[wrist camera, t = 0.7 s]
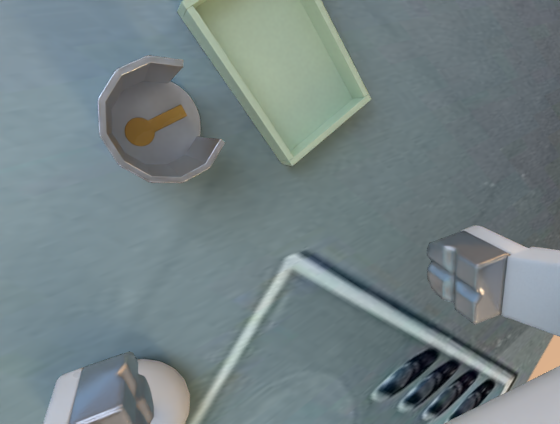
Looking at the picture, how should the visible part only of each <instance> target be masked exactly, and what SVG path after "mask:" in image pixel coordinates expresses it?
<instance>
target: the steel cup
mask: <svg viewBox="0 0 560 424" xmlns="http://www.w3.org/2000/svg"><path fill="white" fill-rule="evenodd" d="M182 67H183V60H180V59H173V58H165V57H158V56H151V55H149V56H145V57H143V58H140V59H138V60H136V61H134V62H131V63H129V64H127V65H125V66H122V67H120V68H118V69H117V70H115V72H114V73H113V75H112V77H111V78H110V80H109V81H108V83H107V85H106V86H105V88H104V90H103V91H102V93H101V95H100V96H99V98H98V122H99V135H100V138H101V139H102V141H103V142H104V144H105V145H106V147H107V148H108V150H109V151H110V153H111V154H112V156H113V157H114V159H115V161H116V162H117V164H118V165H120V167H122V168H124V169H126V170H128V171H129V172H131V173H133V174H135V175H137V176H139V177H140V178H142V179H144V180H146V181H148V182H151V183H182V182H185V181H187V180H189V179H191V178H193V177H195V176H196V175H198V174H200V173H202V172H204V171H205V170H207V169H209V167H211V165H212V164H213V162H214V160H215V159H216V157H217V155H218V154H219V152H220V150H221V149H222V147H223V145H224V144H225V142H224V141H223V140H221V139H214V138H205V137H200V131H201V121H200V116H199V112H198V109H197V107H196V105H195V103H194V102H193V100H192V98H191V97H190V96H189V95H188V94H187V93H186V92H185V91H184V90H183V89H182V88H181V87H180V86H178V85H177V84H175V83H173V82H171V81H170V80H171V79H172V78H173V77H174V76H175V75H176V74H177V73H178V72H179V71H180V70H181V69H182ZM178 105H182V107H183V109H184V110H185V112H186V114H187V116H186V117H184V118H182V119H180V120H178V121H176V122H174V123H172V124H170V125H168V126H166V127H164V128H162V129H160V130H158V131H156V132H155V136H154V139H153V141H152V142H151V143H150V144H148V145H146V146H136V145H133V144H132V143H130V142H129V141H128V139H127V138H126V136H125V126H126V124H127V123H128V121H130V120H131V119H133V118H144V119H146V120H150V119H152V118H154V117H156V116H158V115H160V114H162V113H164V112H166V111H168V110H170V109H172V108H174V107H176V106H178Z"/></svg>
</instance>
